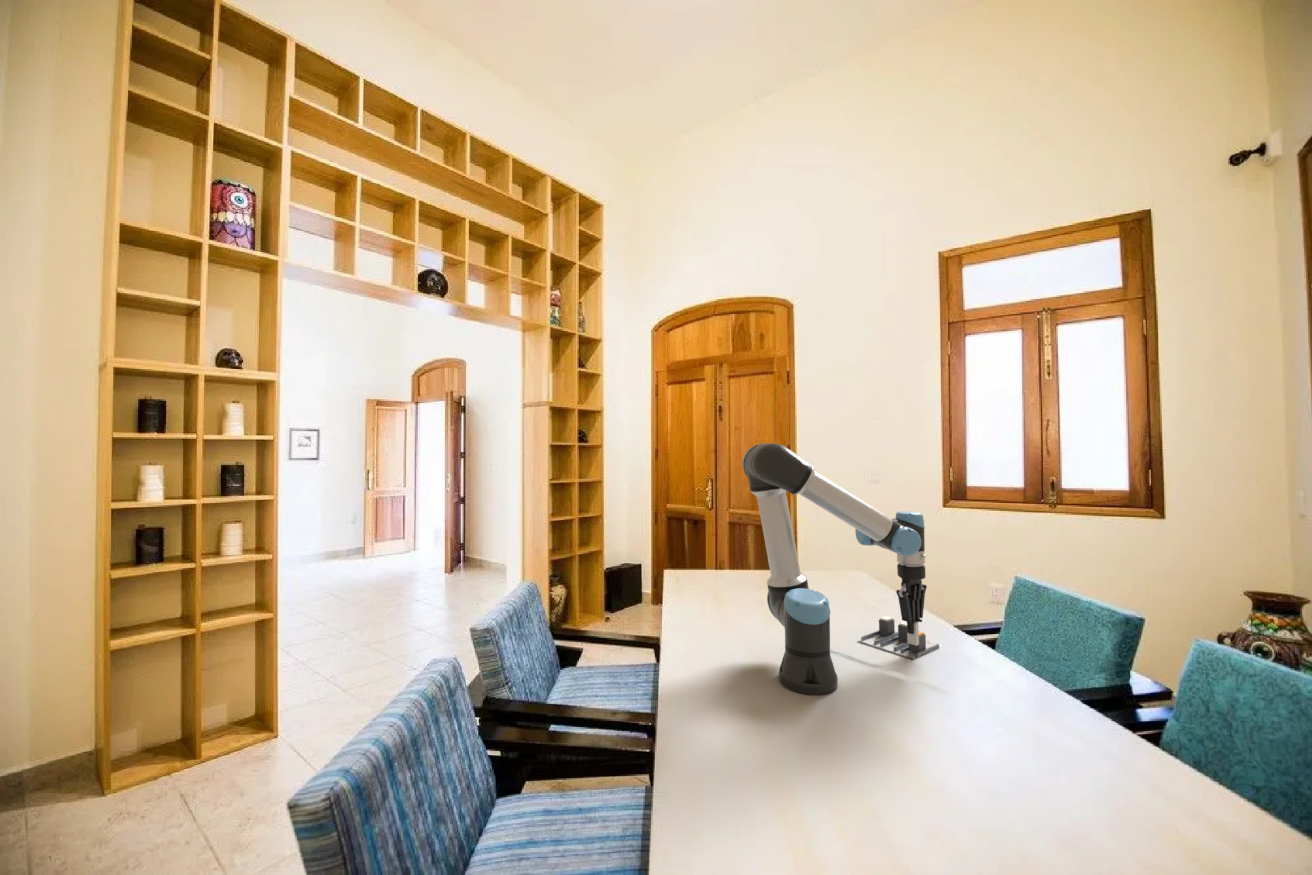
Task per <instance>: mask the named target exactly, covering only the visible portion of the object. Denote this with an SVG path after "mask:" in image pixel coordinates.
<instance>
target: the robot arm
mask: <svg viewBox="0 0 1312 875" xmlns="http://www.w3.org/2000/svg"><path fill="white" fill-rule="evenodd" d="M742 469H743V471H744V474H745V476H746V477H747V479H748V486H749V491H750V493H751V494H753V495H754V496H755V497H756V499H757V506H758V511H759V516H760V523H761V527H762V533H763V538H764V543H765V544H764V545H765V550H766V555H767V561H768V566H769V571H770V572H769V573H770V576H769V578H768V579H767V581H766V584H767V590H768V592H767V595H766V602H767V606H768V610H769V611H770V613H771V614H772V616H773V617H774V618H775V619H776V620H777V621H778V622H779V623H780V624H781V626H783V628H784V654H783V656H782V661H781V663H780V667H779V669H778V681H779V683H780V684H781V685H782V686H783V687H784V688H786V689H788V690H790V691H792V692H796V693H799V694H804V695H805V694H806V695H815V696H816V695H817V696H818V695H820V696H821V695H827V694H830V693H832V692H834V691H836V690H837V688H838V686H839V685H838V679H839V678H838V674H837V672H836V670H835V667H834V663H833V660H832V656H831V626H830V625H831V624H830V623H831V619H830V617H831V610H830V609H831V608H830V601H829V599H828V598H827V596H826V595H825V594H823V592H820V591H817V590H816V591H815V590H814V589H811V588H809V587H810V586H809V583H808V578H807V576H806V575H805V574H803V573H802V572H801V568H800V563H799V557H798V552H797V546H796V540H795V536H794V535H795V534H794V530H793V525H792V517H791V514H790V508H789V507H790V506H789V503H788V497H787V492H788V493H790V494H791V495H793V496H796V495H800V496H802V497H803V498H805V499H807V500H809V501H810V502H812V503H813V504H815V505H816V506H818V507H820V508H821V509H823V510H825V511H826V512H828V513H829V514H831V515H832V516H834V517H836V518H837V519H840V520H841V521H843V522H844V523H846V524H848V525H850V526H851V527H852V528H854V529H855V530H854V531H855V538H856V540H857V542H858V543H859V544H860V545H862V546H870V547H871V546H876V547H877V546H878V547H880V548H882V549H885V550H888V551H890V552H893V553H896V562H897V568H896V569H897V576H898V577H899V578H900V579H901V585H900V586H901V588H900V589H896V590H895V592H896V595H897V597H898V604H899V608H900V616H901V620H902V622H904V621H906V622H907V643H909V644H912V645H916V646H917V645H919V631H920V630H919V629H920V628H919V627H920V626H919V623H922V622H923V617H924V608H925V597H926V590H927V584H923V581H922V580H923V579H926V566H925V564H926V558H927V557H926V556H927V555H926V554H925V553H926V552H925V551H926V550H925V545H926V544H925V528H926V527H925V519H924V515H923V514H922V513H921V512H919V511H913V510H911V511H909V510H907V511H906V510H902V511H897V512H896V513H895V518H892V517H890V516H888V515H887V514H885V513H883V512H882V511H881V510H879V509H877V508H876V507H874V506H872V505H871V504H869V503H867V502H865V501H864V500H862V499H860V497H858V496H856V495H855V494H853V493H851V492H849V491H848V490H846V489H845V488H843V487H842V486H840V485H838V484H836V483H835V482H834V481H832V480H830V479H828V478H827V477H825V476H824V475H823V474H821V473H818V472H817V471H815V469H814V465H813V464H812V463H810V462H808V461H807V460H805V459H803V458H802V457H801V456H799V455H798V454H796V453H795V452H794V451H792V450H791V449H789V447H786V446H785V445H782V444H780V443H773V442H771V443H770V442H769V443H767V442H764V443H759V444H755V445H754V446H752V447H750V448H749V449H748V450H747V451H746V452H745V454H744V455H743V459H742Z"/></svg>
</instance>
